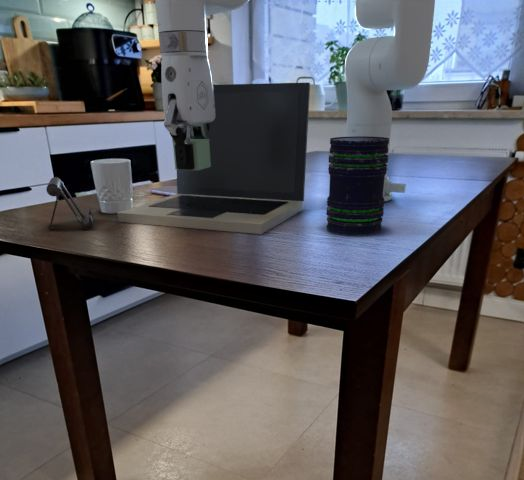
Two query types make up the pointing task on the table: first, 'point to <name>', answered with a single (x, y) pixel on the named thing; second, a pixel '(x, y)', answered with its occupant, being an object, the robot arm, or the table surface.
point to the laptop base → (213, 213)
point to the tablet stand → (68, 202)
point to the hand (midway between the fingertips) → (193, 166)
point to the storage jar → (356, 185)
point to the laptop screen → (254, 143)
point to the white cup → (113, 184)
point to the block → (199, 154)
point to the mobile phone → (165, 190)
